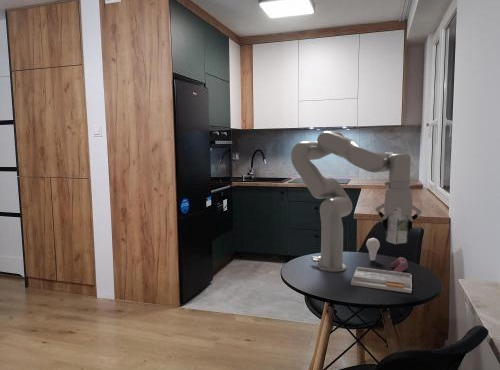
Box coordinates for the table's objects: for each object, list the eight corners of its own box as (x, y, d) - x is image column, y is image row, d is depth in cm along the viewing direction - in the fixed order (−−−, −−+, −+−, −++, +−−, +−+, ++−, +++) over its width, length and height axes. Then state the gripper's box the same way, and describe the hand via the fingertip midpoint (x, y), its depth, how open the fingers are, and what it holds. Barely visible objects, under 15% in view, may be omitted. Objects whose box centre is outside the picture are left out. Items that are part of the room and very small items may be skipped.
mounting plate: (350, 284, 147) (350, 279, 147) (356, 270, 164) (356, 266, 163) (411, 293, 138) (411, 288, 138) (411, 277, 155) (411, 272, 155)
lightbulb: (363, 258, 181) (364, 236, 180) (375, 258, 181) (376, 236, 180) (368, 262, 175) (369, 239, 174) (381, 262, 175) (382, 239, 174)
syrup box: (397, 240, 151) (398, 204, 150) (407, 243, 146) (409, 206, 144) (385, 241, 149) (387, 205, 148) (396, 245, 144) (397, 207, 142)
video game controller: (402, 278, 159) (411, 264, 158) (392, 272, 160) (401, 258, 158) (398, 270, 169) (406, 257, 167) (389, 265, 169) (396, 252, 168)
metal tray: (353, 279, 149) (353, 276, 149) (357, 270, 161) (357, 267, 161) (410, 287, 141) (410, 283, 141) (410, 276, 153) (410, 273, 152)
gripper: (374, 185, 145) (373, 230, 147) (424, 187, 138) (421, 234, 140) (376, 183, 152) (374, 226, 154) (423, 185, 145) (421, 229, 147)
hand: (397, 229), depth 147 cm, fingers closed on syrup box, 8 cm apart
